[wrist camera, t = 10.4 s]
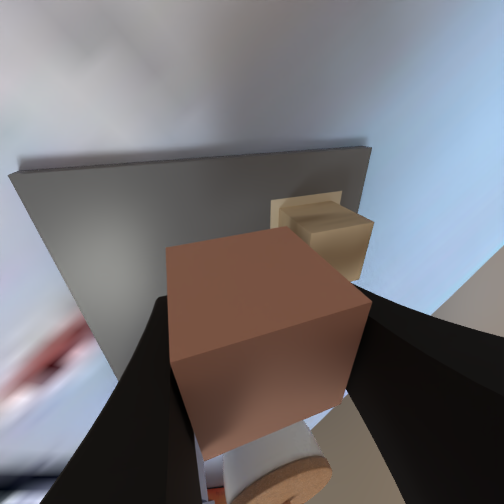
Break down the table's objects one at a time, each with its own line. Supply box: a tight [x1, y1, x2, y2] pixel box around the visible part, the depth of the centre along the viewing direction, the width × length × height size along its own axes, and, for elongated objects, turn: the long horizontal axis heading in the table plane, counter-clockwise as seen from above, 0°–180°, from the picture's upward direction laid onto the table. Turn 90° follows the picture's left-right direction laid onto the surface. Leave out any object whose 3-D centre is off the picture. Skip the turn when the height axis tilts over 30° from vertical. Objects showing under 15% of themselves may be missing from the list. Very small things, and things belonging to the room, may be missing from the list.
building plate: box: [8, 146, 372, 381], centre depth 19 cm, size 18×22×1 cm
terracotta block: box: [166, 226, 372, 461], centre depth 8 cm, size 4×4×4 cm
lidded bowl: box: [223, 420, 332, 504], centre depth 29 cm, size 13×13×11 cm
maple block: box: [278, 201, 374, 282], centre depth 17 cm, size 4×4×4 cm
